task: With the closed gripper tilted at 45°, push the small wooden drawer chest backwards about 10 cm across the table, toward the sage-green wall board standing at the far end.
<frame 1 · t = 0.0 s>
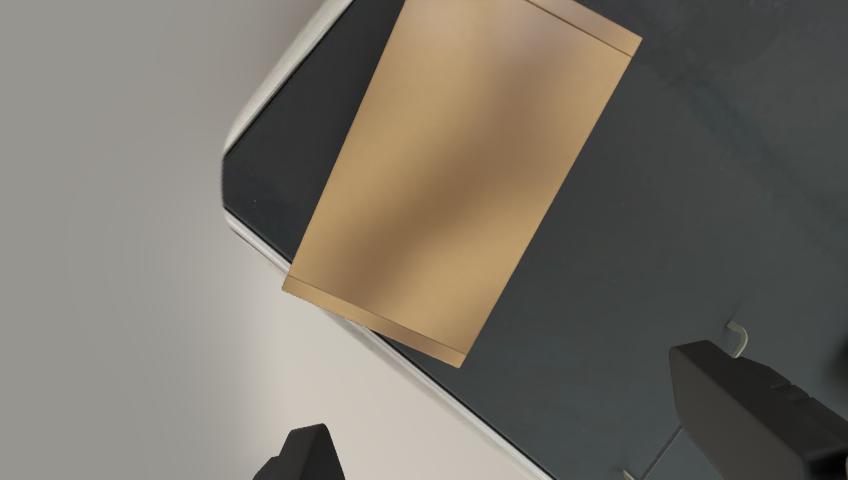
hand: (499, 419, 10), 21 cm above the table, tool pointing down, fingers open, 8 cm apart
eyeglasses: (745, 445, 35), on the table
wooden drawer chest: (441, 156, 30), on the table
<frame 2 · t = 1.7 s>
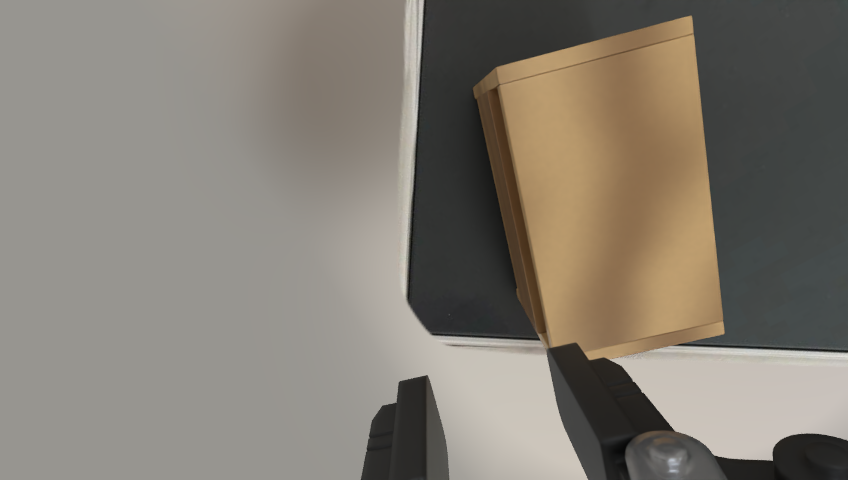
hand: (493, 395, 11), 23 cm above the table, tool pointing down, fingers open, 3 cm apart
wooden drawer chest: (556, 183, 33), on the table
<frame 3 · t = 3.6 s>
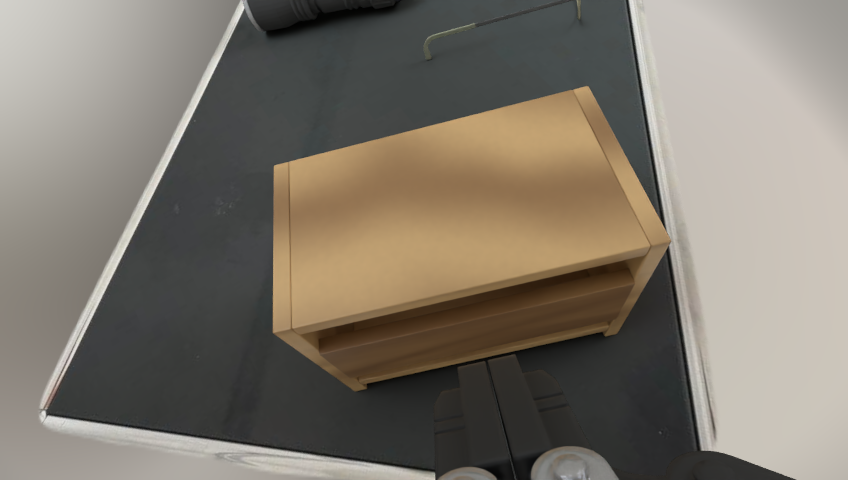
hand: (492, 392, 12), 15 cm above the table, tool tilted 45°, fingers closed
flashlight: (331, 16, 48), on the table
wooden drawer chest: (467, 295, 30), on the table
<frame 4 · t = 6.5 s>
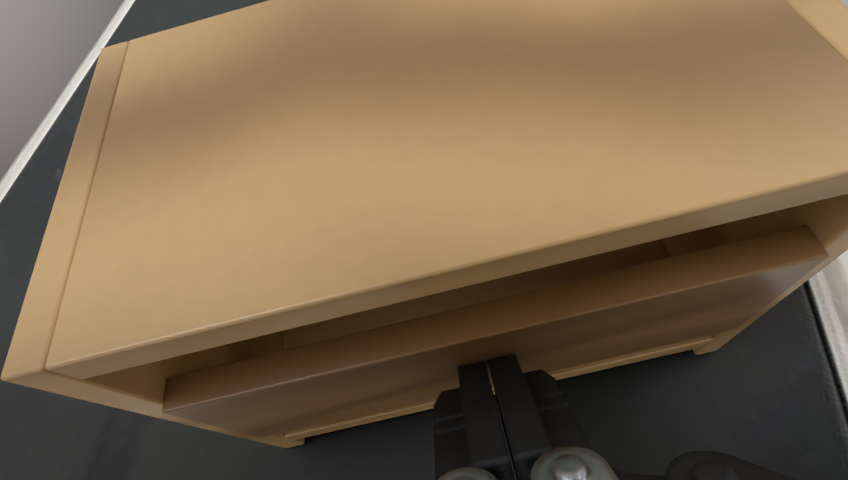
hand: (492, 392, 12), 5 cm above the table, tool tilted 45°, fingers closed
wooden drawer chest: (466, 290, 19), on the table, touching gripper
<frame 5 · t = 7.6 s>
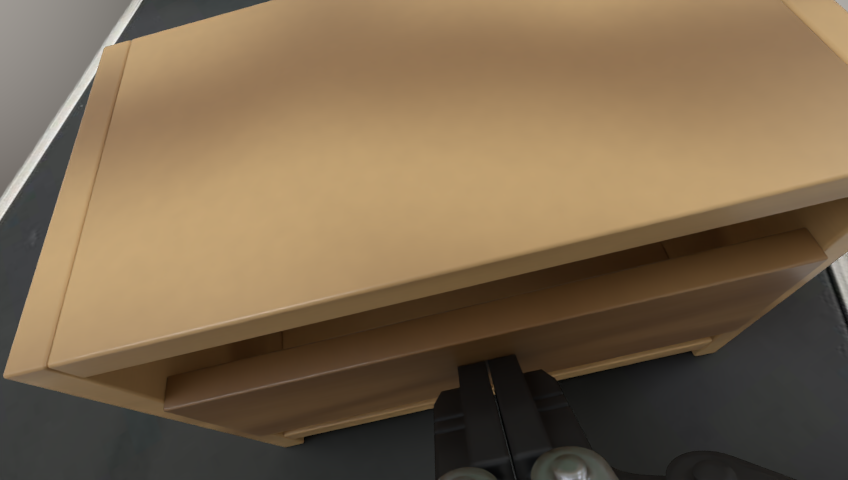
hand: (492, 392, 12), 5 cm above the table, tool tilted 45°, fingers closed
wooden drawer chest: (466, 290, 19), on the table, touching gripper
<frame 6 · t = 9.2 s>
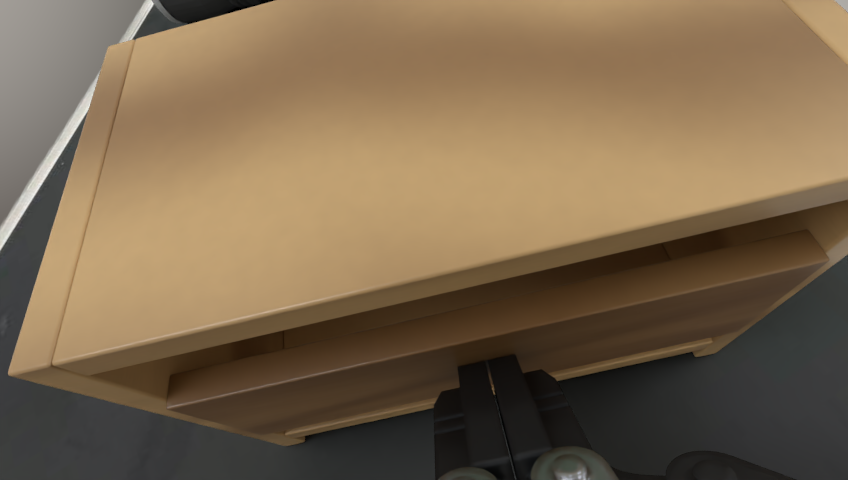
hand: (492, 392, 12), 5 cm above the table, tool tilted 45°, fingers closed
flashlight: (284, 0, 33), on the table
wooden drawer chest: (467, 290, 19), on the table, touching gripper
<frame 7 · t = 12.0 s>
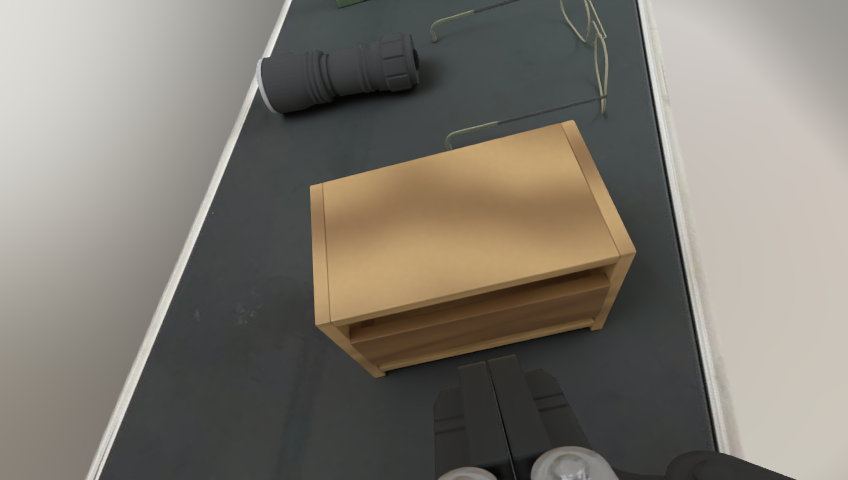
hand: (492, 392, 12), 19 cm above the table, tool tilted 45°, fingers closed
flashlight: (348, 96, 48), on the table
eyeglasses: (513, 79, 45), on the table
wooden drawer chest: (472, 295, 34), on the table
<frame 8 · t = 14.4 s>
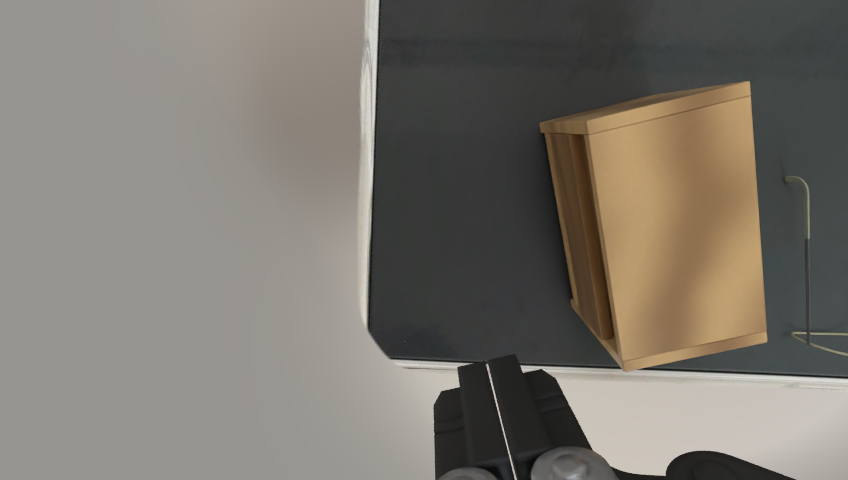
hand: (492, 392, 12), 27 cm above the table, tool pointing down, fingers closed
wooden drawer chest: (609, 206, 38), on the table
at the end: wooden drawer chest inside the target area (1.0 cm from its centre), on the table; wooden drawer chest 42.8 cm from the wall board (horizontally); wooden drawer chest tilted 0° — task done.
